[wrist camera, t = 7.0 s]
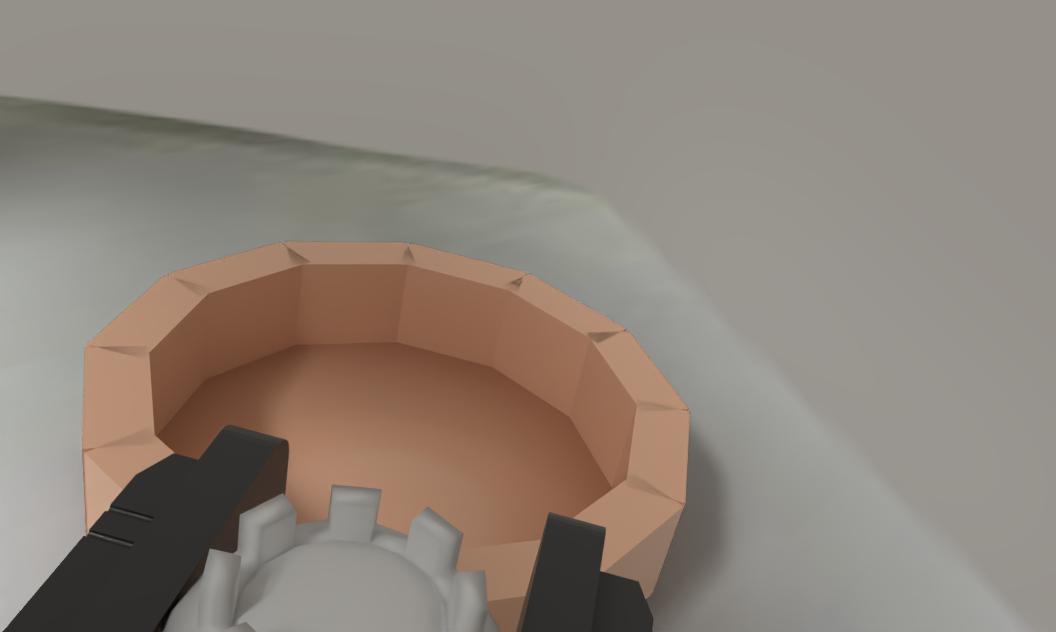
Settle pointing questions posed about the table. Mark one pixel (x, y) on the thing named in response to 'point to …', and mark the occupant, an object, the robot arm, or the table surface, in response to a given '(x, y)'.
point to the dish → (401, 399)
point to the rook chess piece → (336, 575)
